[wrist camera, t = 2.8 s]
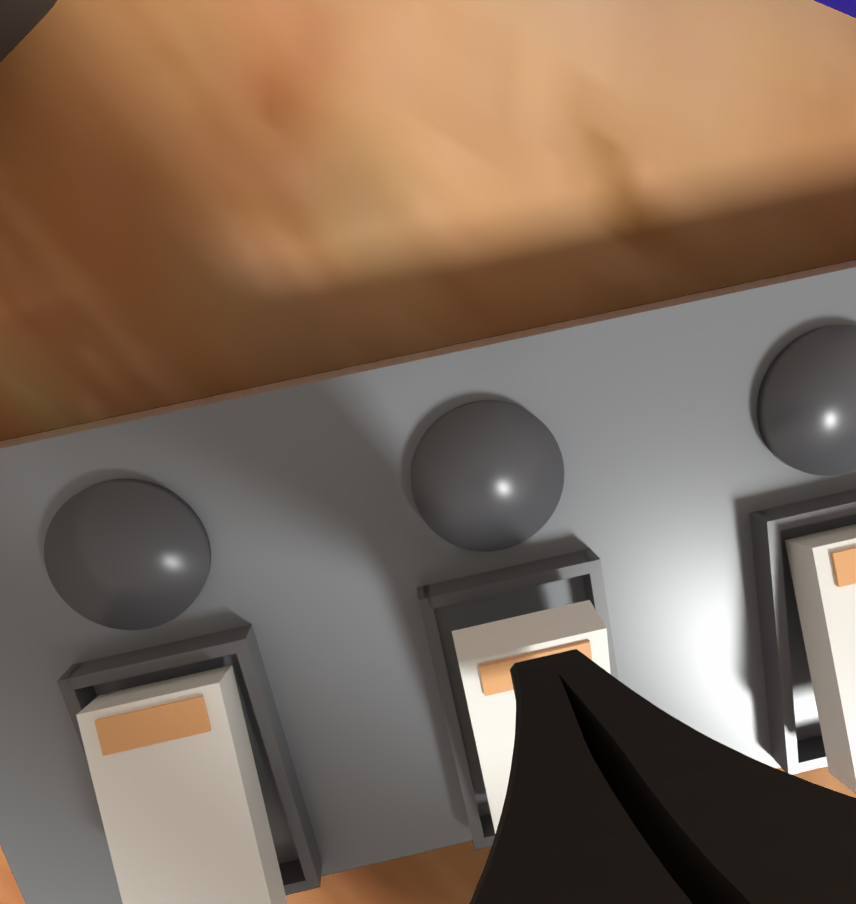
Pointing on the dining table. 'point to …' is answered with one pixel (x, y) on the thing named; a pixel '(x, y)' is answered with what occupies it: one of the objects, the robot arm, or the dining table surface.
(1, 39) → the usb drive
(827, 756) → the rocker
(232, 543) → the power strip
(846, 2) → the blue pipe cradle
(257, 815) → the rocker
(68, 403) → the dining table surface
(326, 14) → the dining table surface
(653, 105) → the dining table surface
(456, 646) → the rocker middle
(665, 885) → the robot arm
